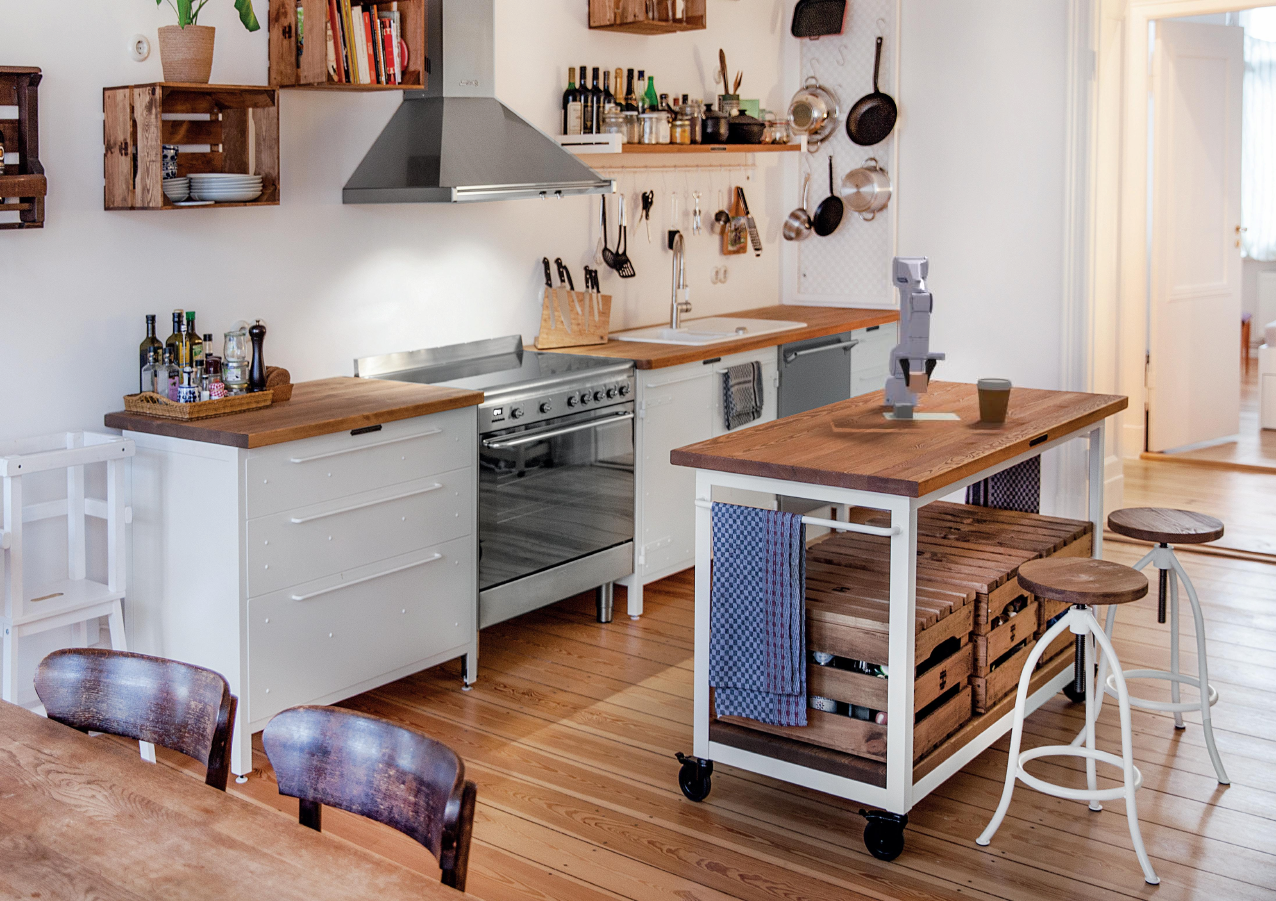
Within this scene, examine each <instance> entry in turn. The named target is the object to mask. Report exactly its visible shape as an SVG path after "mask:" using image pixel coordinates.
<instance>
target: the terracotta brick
mask: <svg viewBox="0 0 1276 901" xmlns="http://www.w3.org/2000/svg"><path fill="white" fill-rule="evenodd" d="M927 378H928V375H927V374H926V373H925V371H924V372H909V387H907V390H908V391H909V392H910V393H918V394H928V387H927Z"/></svg>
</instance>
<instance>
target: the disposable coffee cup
mask: <svg viewBox="0 0 1276 901" xmlns="http://www.w3.org/2000/svg"><path fill="white" fill-rule="evenodd" d="M975 385H976V388H977V396H978V408H979V409H978V410H979V420H980V421H981V422H984V423H1004V422H1006V418H1007V412H1008V406H1009V400H1010V394H1011V390H1012V387H1013V384H1012V380H1011V379H1007V378H998V377H997V378H995V377H992V378H991V377H990V378H989V377H987V378H978V379H977V383H976V384H975Z"/></svg>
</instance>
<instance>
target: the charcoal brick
mask: <svg viewBox="0 0 1276 901" xmlns="http://www.w3.org/2000/svg"><path fill="white" fill-rule="evenodd" d="M892 413H893V414H894V416H895V417H896V418H913V413H914V406H912V405H911V403H894V405H893V412H892Z"/></svg>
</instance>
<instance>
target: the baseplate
mask: <svg viewBox="0 0 1276 901" xmlns="http://www.w3.org/2000/svg"><path fill="white" fill-rule="evenodd" d="M882 415H883V416H884V418H885V419H886V420H887V421H888V420H892V421H898V420H899V421H900V420H902V421H904V420H905V421H907V420H908V421H909V420H910V421H962V419H961V418H960V417H959V416H958V415H957V414H955V413H954V412H953V413H952V412H951V413H950V412H947V413H946V412H945V413H944V412H943V413H942V412H913V418H896V417H895V416H894V414H893V412H882Z"/></svg>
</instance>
